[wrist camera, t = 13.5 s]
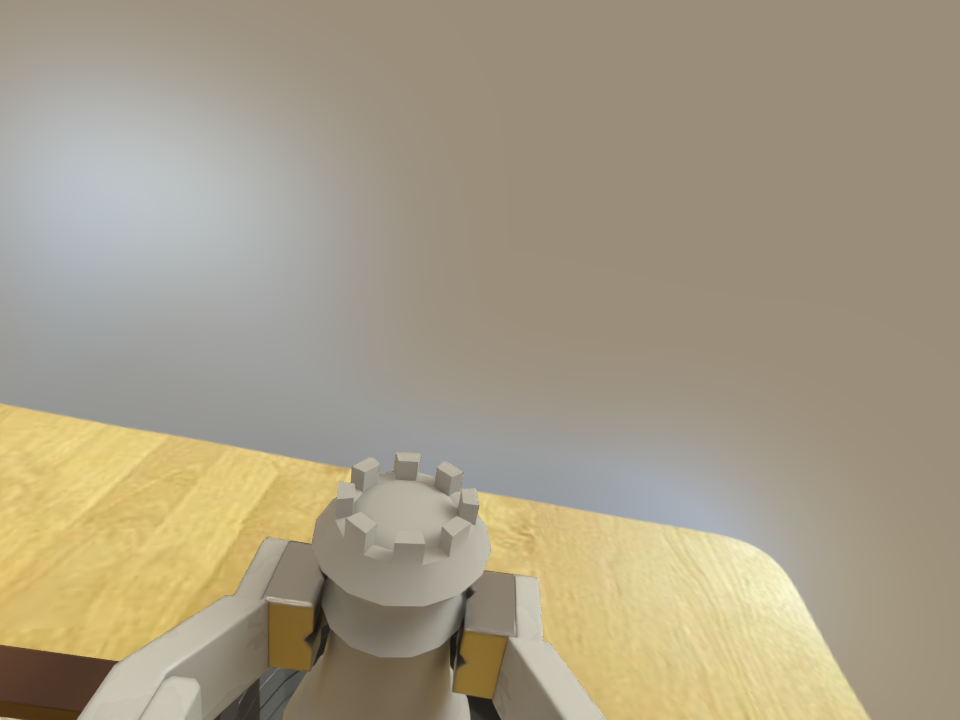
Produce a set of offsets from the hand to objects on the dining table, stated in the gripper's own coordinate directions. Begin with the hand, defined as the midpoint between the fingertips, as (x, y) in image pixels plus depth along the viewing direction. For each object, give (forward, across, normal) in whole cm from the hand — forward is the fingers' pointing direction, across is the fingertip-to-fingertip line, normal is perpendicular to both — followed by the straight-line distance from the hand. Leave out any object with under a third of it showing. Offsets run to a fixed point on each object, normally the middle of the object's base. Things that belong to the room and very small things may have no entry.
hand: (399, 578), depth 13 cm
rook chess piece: (-1, 0, +5) cm, 5 cm away
